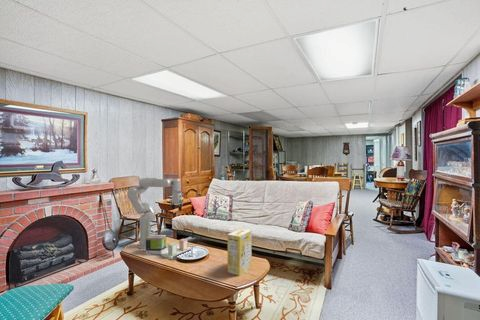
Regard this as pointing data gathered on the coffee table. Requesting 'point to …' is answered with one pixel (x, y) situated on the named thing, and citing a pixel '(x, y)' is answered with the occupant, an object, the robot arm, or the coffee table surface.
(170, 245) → the sage carton
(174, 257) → the shelf
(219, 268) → the coffee table surface
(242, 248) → the pasta box
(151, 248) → the tea box
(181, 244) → the terracotta carton
